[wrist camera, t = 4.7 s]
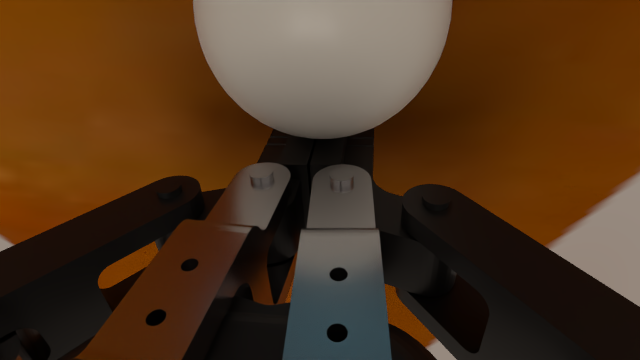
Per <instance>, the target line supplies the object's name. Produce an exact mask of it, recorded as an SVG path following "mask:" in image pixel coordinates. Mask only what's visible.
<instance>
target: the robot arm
mask: <svg viewBox="0 0 640 360" xmlns="http://www.w3.org/2000/svg"><path fill="white" fill-rule="evenodd" d="M373 152H374V128H372V129H369V130H367V131H364V132H361V133H358V134H354V135H351V136H347V137H342V138H334V139H311V138H305V137H298V136H294V135H290V134H286V133H283V132H281V131H278V130H276V129H274V130H273V132H272V134H271V136H270V138H269V140H268V142H267V145H266V146H265V148H264V150H263V152H262V154H261V156H260V158H259V160H258V162H257V164H253V165H250V166H247V167H245V168H243V169H242V170H240V171H239V172H238V173H237V174H236V175H235V177H234V178H233V180H232V181H231V182H230V184H229V185H228V187H227V188H224V189H218V190H212V191H206V192H202V191H201V187H200V184H199V182H198V181H197V180H196V179H194V178H192V177H189V176H172V177H167V178H163V179H161V180H158V181H156V182H153V183H151V184H149V185H147V186H145V187H142V188H140V189H138V190H136V191H134V192H131V193H129V194H127V195H125V196H122V197H120V198H118V199H116V200H114V201H111V202H109V203H107V204H105V205H103V206H100V207H98V208H96V209H94V210H91V211H89V212H87V213H85V214H83V215H80V216H78V217H76V218H74V219H72V220H69V221H67V222H65V223H63V224H61V225H58V226H56V227H54V228H52V229H49V230H47V231H45V232H43V233H41V234H38V235H36V236H34V237H32V238H30V239H27V240H25V241H23V242H21V243H18V244H16V245H14V246H12V247H10V248H7V249H5V250H3V251H1V252H0V360H437V359H436V358H435V357H434V356H433V355H432V354H431V353H430V352H429V351H428V350H427V349H426V348H425V347H424V346H423V345H422V344H420V343H419V342H418V341H417V340H416V339H414V338H413V337H412V336H410V335H409V334H407V333H406V332H404V331H402V330H401V329H399V328H397V327H396V326H393V325H391V324H389V323H388V317H387V307H386V296H385V286H384V283H385V284H388V285H391V286H394V287H395V288H396V293H397V296H398V298H399V299H400V300H401V302H402V303H403V304H404V305H405V306H406V307H407V308H408V309H409V310H410V311H411V312H412V313H413V314H414V315H415V316H416V317H417V318H418V319H419V320H420V321H421V323H422V324H423V325H424V326H425V327H426V328H427V329H428V330H429V331H430V332H431V333H432V334H433V335H434V336H435V337H436V338H437V339H438V340H439V341H440V342H441V343H442V344H443V345H444V346H445V348H446V349H448V351H449V352H450V353H451V354H452V355H453V356H454V357H455V358H456V359H457V360H640V307H639V306H637V305H636V304H634V303H633V302H631V301H629V300H628V299H626V298H625V297H623V296H622V295H620V294H619V293H617V292H615V291H614V290H612V289H611V288H609V287H608V286H606V285H604V284H603V283H601V282H599V281H598V280H597V279H595V278H593V277H592V276H590V275H589V274H587V273H586V272H584V271H582V270H581V269H579V268H578V267H576V266H574V265H573V264H571V263H570V262H568V261H567V260H565V259H563V258H562V257H560V256H558V255H557V254H556V253H554V252H552V251H551V250H549V249H548V248H546V247H545V246H543V245H542V244H540V243H538V242H537V241H535V240H534V239H532V238H531V237H529V236H527V235H526V234H524V233H523V232H521V231H520V230H518V229H516V228H515V227H513V226H512V225H510V224H509V223H507V222H505V221H504V220H502V219H501V218H499V217H498V216H496V215H494V214H493V213H491V212H490V211H488V210H487V209H485V208H483V207H482V206H480V205H479V204H477V203H476V202H474V201H472V200H471V199H469V198H468V197H466V196H465V195H463V194H461V193H460V192H458V191H456V190H455V189H452V188H450V187H446V186H442V185H436V184H425V185H419V186H416V187H413V188H411V189H409V190H408V191H407V192H406V193H405V194H404V196H403V197H402V196H398V195H395V194H391V193H389V192H386V191H384V190H383V189H381V188H380V187H378V186H377V185H376V184H375V182H374V181H373ZM153 241H155V243H156V245H157V248H158V251H159V252H158V253H157V254H156V256H155V257H154V258H153V260H152V261H151V262H150V264H149V265H148V266H147V267H145V268H144V269H142V270H140V271H138V272H137V273H135V274H133V275H131V276H130V277H128V278H126V279H124V280H123V281H121V282H119V283H117V284H116V285H114V286H112V287H110V288H106V289H100V288H99V286H98V278H99V275H100V274H101V272H102V271H103V270H104V269H105V268H106V267H107V266H109V265H111V264H113V263H114V262H116V261H118V260H120V259H122V258H124V257H126V256H127V255H129V254H131V253H133V252H135V251H137V250H139V249H140V248H142V247H144V246H146V245H148V244H150V243H152V242H153ZM293 278H294V282H293V289H292V296H291V302H290V303H285V301H286V298H287V295H288V292H289V289H290V287H291V284H292V281H293Z"/></svg>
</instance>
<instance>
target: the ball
mask: <svg viewBox="0 0 640 360" xmlns="http://www.w3.org/2000/svg"><path fill="white" fill-rule="evenodd" d="M193 8H194V18H195V25H196V29H197V33H198V38H199V41H200V45H201V48H202V50H203V53H204V56H205V58H206V61H207V63H208V65H209V67H210V68H211V70H212V72H213V74H214V76H215V77H216V79H217V80H218V82H219V83H220V85H221V86H222V87H223V89H224V90H225V91H226V93H227V94H228V95H229V96H230V97H231V98H232V99H233V100H234V101H235V102H236V103H237V104H238V105H239V106H240V107H241V108H242V109H243V110H244V111H246V112H247V113H248V114H250V115H251V116H253V117H254V118H256V119H257V120H258V121H260V122H261V123H263V124H265V125H267V126H269V127H271V128H274V129H276V130H278V131H281V132H283V133H286V134H290V135H294V136H298V137H305V138H311V139H334V138H342V137H347V136H351V135H354V134H358V133H361V132H364V131H367V130H369V129H372V128H374V127H376V126H378V125H380V124H382V123H383V122H385V121H386V120H388V119H389V118H391V117H392V116H394V115H395V114H397V113H398V112H399V111H401V110H402V109H403V108H404V107H405V106H406V105H407V104H408V103H409V102H410V101H411V100H412V99H413V98H414V97H415V96H416V95H417V94H418V92H419V91H420V90H421V89H422V87H423V86H424V85H425V83H426V82H427V81H428V79H429V77H430V76H431V74H432V72H433V70H434V68H435V66H436V65H437V63H438V61H439V59H440V56H441V54H442V51H443V48H444V46H445V43H446V39H447V34H448V30H449V25H450V21H451V12H452V0H193Z"/></svg>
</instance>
